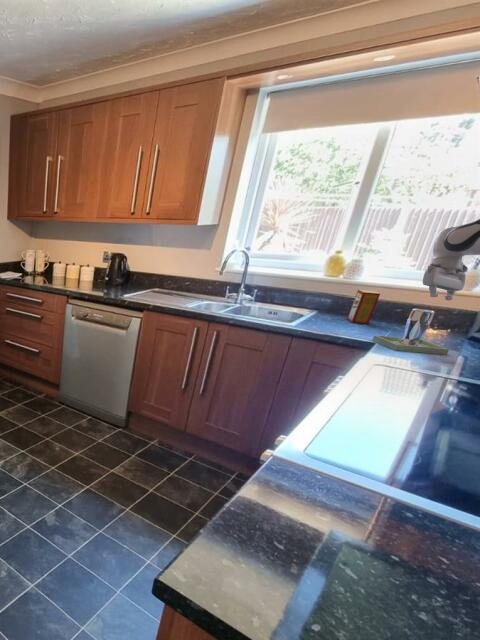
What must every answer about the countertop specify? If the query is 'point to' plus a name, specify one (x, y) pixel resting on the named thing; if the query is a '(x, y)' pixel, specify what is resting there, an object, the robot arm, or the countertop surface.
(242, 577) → the countertop surface
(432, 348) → the tray
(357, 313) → the baking soda box
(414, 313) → the beer glass
